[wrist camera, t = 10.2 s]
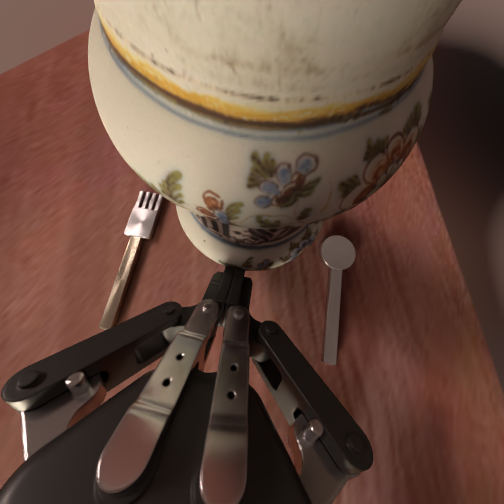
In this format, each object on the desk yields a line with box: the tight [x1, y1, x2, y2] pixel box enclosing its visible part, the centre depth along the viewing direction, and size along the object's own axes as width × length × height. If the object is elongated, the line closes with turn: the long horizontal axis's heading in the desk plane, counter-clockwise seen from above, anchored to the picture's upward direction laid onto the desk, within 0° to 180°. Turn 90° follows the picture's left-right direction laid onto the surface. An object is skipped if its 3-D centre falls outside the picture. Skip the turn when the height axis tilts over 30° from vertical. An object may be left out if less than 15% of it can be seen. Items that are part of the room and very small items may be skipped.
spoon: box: [319, 235, 356, 365], centre depth 19 cm, size 13×4×1 cm, turn 170°
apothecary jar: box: [88, 0, 462, 271], centre depth 12 cm, size 12×12×18 cm
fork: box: [99, 191, 165, 329], centre depth 19 cm, size 14×3×1 cm, turn 170°
